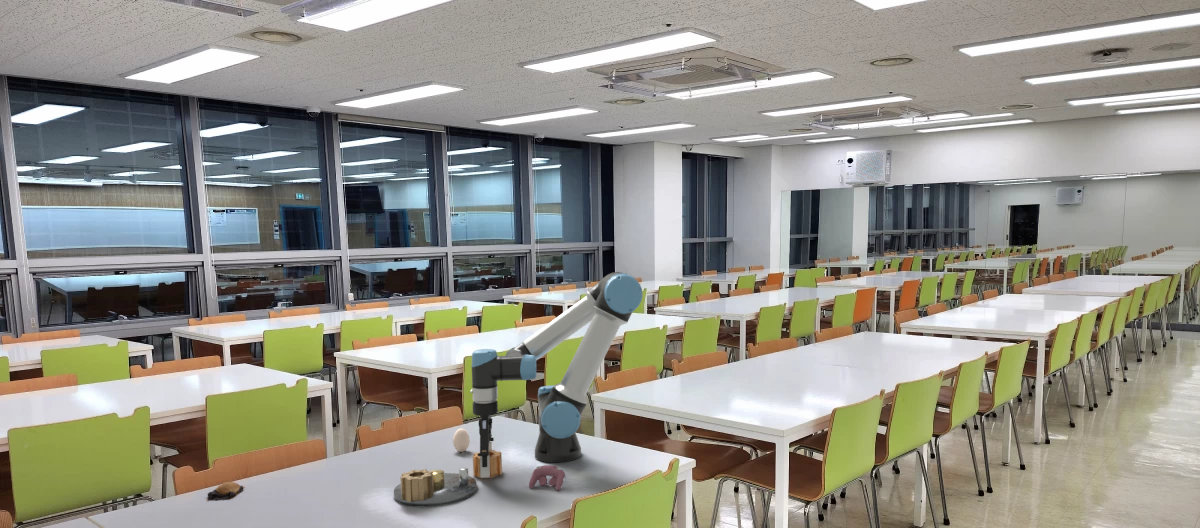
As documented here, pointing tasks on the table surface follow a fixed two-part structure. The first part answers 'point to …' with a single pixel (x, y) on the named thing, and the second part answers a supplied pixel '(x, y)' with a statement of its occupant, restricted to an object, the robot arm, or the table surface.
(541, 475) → the video game controller
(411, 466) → the table surface
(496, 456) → the planet gear
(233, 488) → the brown and black mound
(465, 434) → the egg
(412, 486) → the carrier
